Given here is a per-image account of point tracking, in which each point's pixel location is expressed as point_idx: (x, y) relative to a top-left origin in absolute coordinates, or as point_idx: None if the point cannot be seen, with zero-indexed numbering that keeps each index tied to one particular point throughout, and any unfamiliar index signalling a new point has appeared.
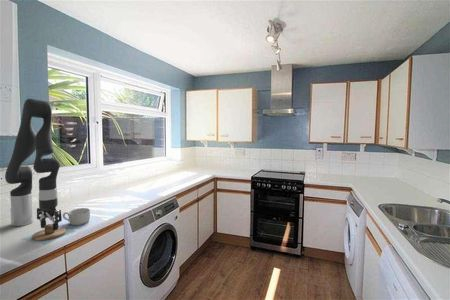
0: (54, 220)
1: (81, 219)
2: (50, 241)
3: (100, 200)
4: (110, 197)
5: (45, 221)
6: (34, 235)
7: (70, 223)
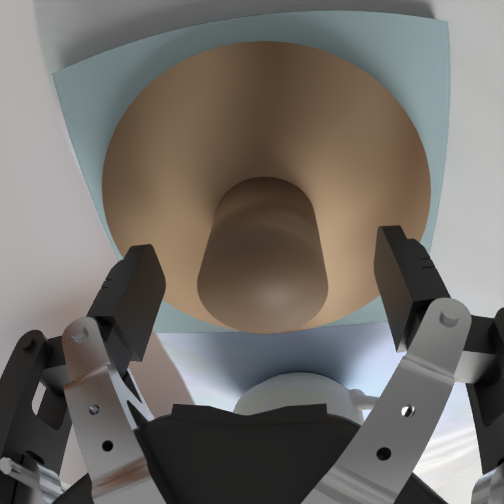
0: (72, 366)
1: None
2: (71, 130)
3: (434, 462)
4: (417, 473)
5: (392, 329)
6: (363, 101)
7: (313, 382)
